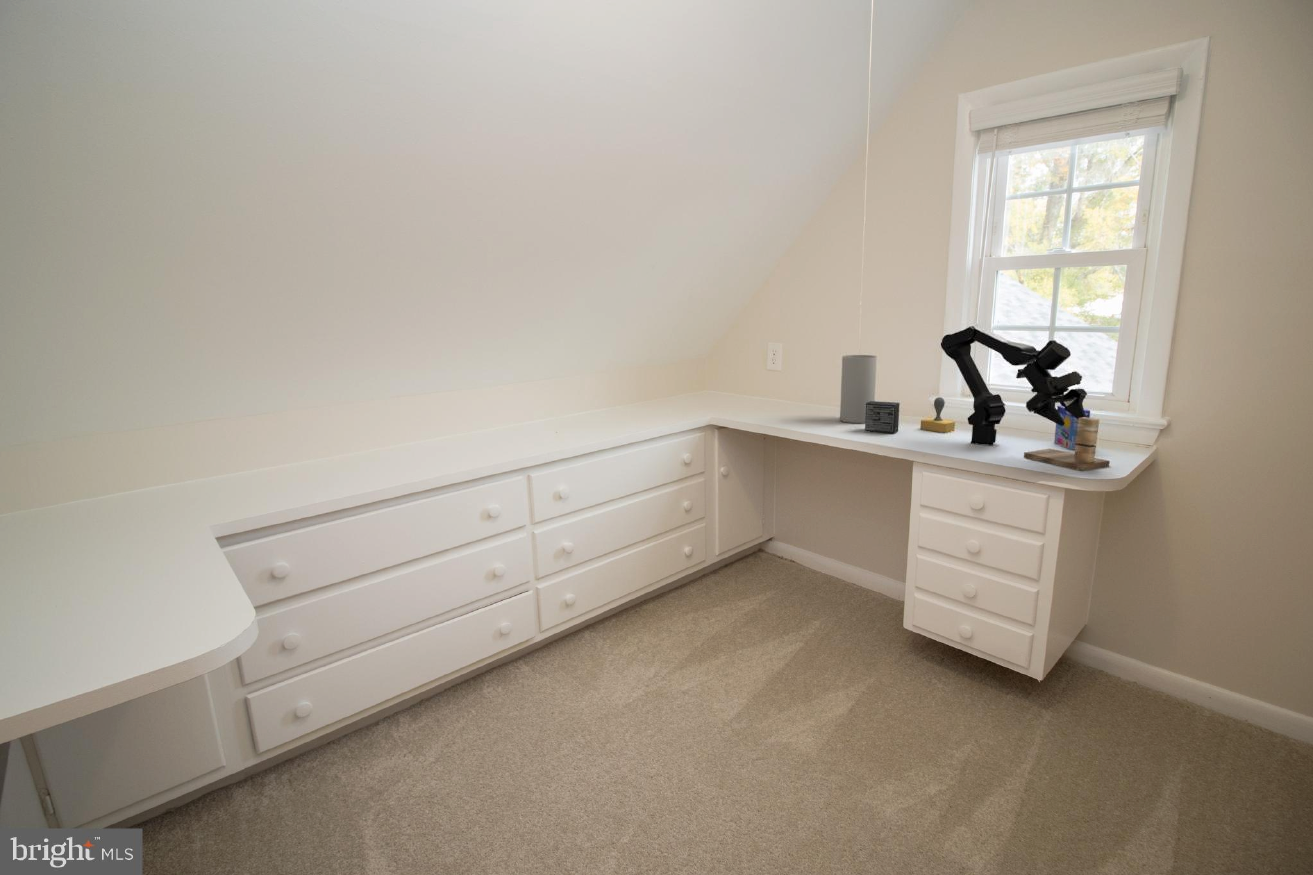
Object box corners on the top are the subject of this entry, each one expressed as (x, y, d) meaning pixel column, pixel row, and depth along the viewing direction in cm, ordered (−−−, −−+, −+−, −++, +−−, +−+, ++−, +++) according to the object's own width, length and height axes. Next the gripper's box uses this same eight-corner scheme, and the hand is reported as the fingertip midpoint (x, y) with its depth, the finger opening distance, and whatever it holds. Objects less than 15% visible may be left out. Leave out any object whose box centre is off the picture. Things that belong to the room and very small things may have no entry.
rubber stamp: (954, 431, 229) (957, 397, 226) (945, 433, 225) (947, 399, 223) (929, 427, 237) (931, 394, 234) (919, 429, 233) (921, 396, 231)
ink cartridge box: (1052, 442, 208) (1057, 398, 205) (1070, 442, 207) (1075, 398, 204) (1068, 449, 198) (1073, 403, 195) (1087, 449, 198) (1093, 402, 195)
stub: (1075, 442, 180) (1078, 418, 178) (1081, 441, 181) (1084, 417, 179) (1090, 445, 176) (1093, 420, 175) (1096, 444, 177) (1099, 419, 176)
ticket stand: (1023, 457, 190) (1025, 437, 189) (1049, 453, 194) (1051, 433, 193) (1082, 471, 174) (1085, 449, 173) (1109, 466, 179) (1111, 444, 177)
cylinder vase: (857, 416, 260) (859, 354, 254) (880, 421, 249) (883, 356, 243) (833, 420, 254) (835, 356, 249) (855, 425, 243) (858, 358, 238)
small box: (899, 431, 231) (900, 402, 229) (894, 434, 226) (896, 404, 224) (868, 428, 237) (870, 400, 235) (864, 431, 232) (865, 402, 229)
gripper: (1039, 364, 179) (1074, 409, 171) (1084, 360, 186) (1119, 403, 178) (1011, 389, 187) (1043, 433, 180) (1055, 384, 195) (1087, 426, 187)
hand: (1074, 423), depth 181 cm, fingers open, 9 cm apart
